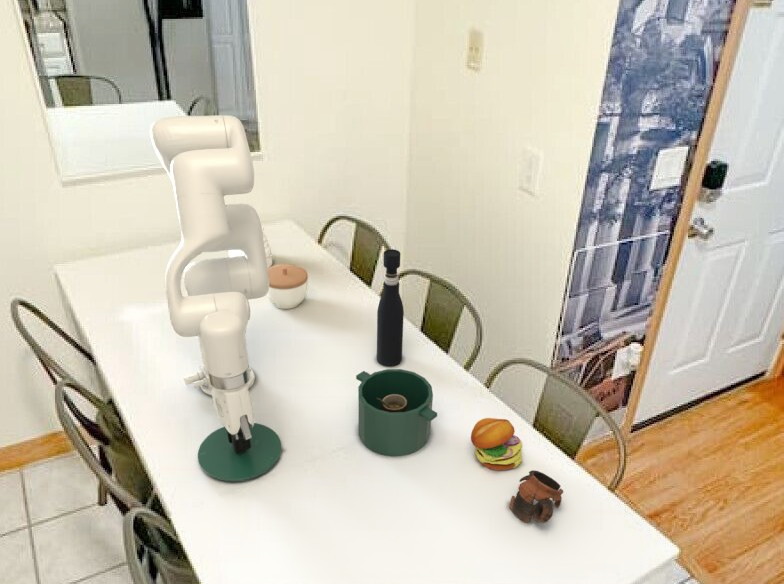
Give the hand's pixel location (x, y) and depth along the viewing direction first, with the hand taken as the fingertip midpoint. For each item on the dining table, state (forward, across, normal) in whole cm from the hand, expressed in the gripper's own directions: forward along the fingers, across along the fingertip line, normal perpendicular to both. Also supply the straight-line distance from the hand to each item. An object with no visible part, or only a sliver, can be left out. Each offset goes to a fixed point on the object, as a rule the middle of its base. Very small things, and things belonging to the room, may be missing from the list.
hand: (239, 444), depth 131 cm
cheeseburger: (+3, +29, +45) cm, 53 cm away
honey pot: (+5, -80, +36) cm, 88 cm away
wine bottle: (+4, -13, +45) cm, 47 cm away
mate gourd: (+3, +10, +31) cm, 32 cm away
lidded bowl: (+4, -52, +35) cm, 63 cm away
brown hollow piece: (+3, +45, +42) cm, 61 cm away
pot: (+3, +11, +31) cm, 33 cm away
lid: (+2, 0, 0) cm, 2 cm away
